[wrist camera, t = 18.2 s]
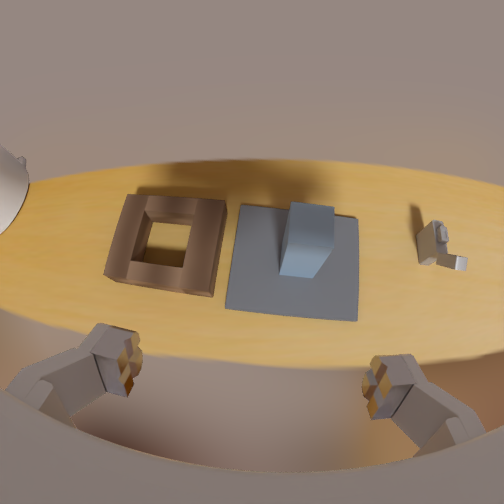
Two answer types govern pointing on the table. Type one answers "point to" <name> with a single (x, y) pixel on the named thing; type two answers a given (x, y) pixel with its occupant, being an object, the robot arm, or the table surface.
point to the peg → (307, 239)
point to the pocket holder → (197, 253)
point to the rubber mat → (291, 287)
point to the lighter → (437, 247)
